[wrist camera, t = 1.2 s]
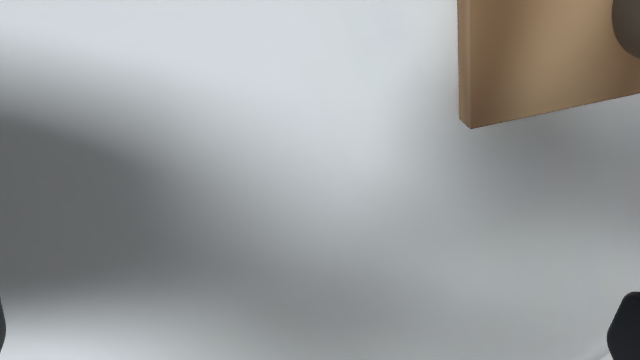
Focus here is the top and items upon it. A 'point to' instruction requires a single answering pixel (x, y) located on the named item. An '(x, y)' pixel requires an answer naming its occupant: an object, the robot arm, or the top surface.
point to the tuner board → (538, 58)
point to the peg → (627, 25)
